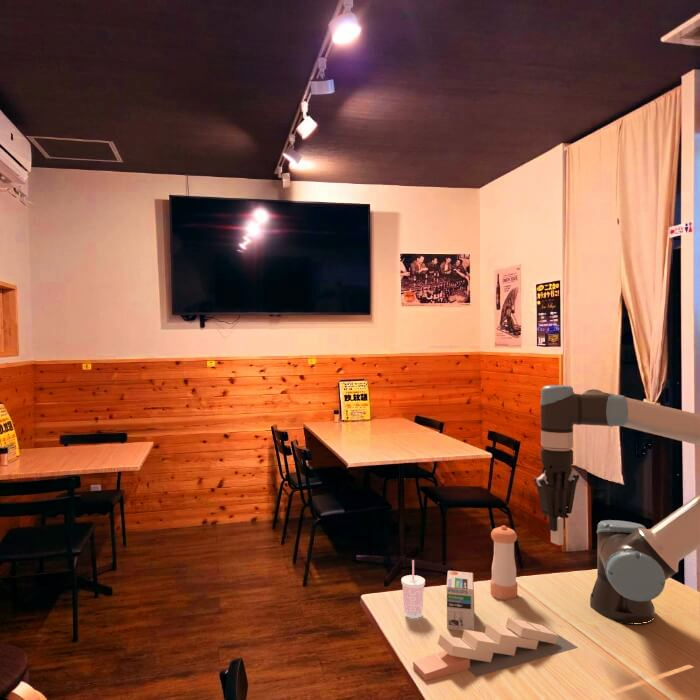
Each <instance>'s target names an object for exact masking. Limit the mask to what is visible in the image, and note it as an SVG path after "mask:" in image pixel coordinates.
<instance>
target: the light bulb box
mask: <svg viewBox="0 0 700 700" xmlns="http://www.w3.org/2000/svg"><path fill="white" fill-rule="evenodd" d="M474 590H475V589H474V573H473V572H467V571H466V572H465V571H457V570H448V571H447V577H446V629H448V630H456V631H464V630H470V631H475V591H474Z"/></svg>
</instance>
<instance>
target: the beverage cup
mask: <svg viewBox="0 0 700 700" xmlns="http://www.w3.org/2000/svg"><path fill="white" fill-rule="evenodd" d="M411 565H412V567H411V568H412V570H411V573H412V574H409V575H405V576H402V577H401V579H400V580H401V581H400V582H401V585H402V599H403V600H402V601H403V613H404V614H405V615H404V617H406V616H407V617H410V618H418V617H421V616H423V605H424V604H423V603H424V590H425V589H424V588H425V586H426V579H425V578H424V577H422V576H420V575H417V574H416V575H415V560H414V559H412V560H411ZM407 617H406V618H407ZM410 618H409V619H410ZM421 618H422V617H421ZM418 619H419V618H418Z"/></svg>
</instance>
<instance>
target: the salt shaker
mask: <svg viewBox="0 0 700 700" xmlns="http://www.w3.org/2000/svg"><path fill="white" fill-rule="evenodd" d="M515 531H516V530H514V529H512V528H510V527H508V526H506V525H501V526H499V527H495V528H493V529H492V531H491V533H490V538H491V540H492V541H493V558H492V563H491V579H490V595H491V596H492V597H494V598H495V599H498V600H501V601H508V600H513V599H516V598H518V582H517V566H516V561H515V542H516V541H517V538H518V535H517V533H516V532H515Z"/></svg>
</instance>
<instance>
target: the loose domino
mask: <svg viewBox="0 0 700 700" xmlns="http://www.w3.org/2000/svg"><path fill="white" fill-rule="evenodd" d="M461 639H463V640H464V641H465V642H467V643H468V644H469V645H470V646H471V647H473V648H474V649H475V650H480V651H486V652H493V653H499V654H506V655H513V656H514V655H515V651H516V646H510V645H503V644H499V643H497V642H496V641H495V640H493V639H492V638H491V637H489V636H488V635H487V634H486V633H485V632H481V631H475V630H474V631H470V630H463V633H462V637H461Z"/></svg>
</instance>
